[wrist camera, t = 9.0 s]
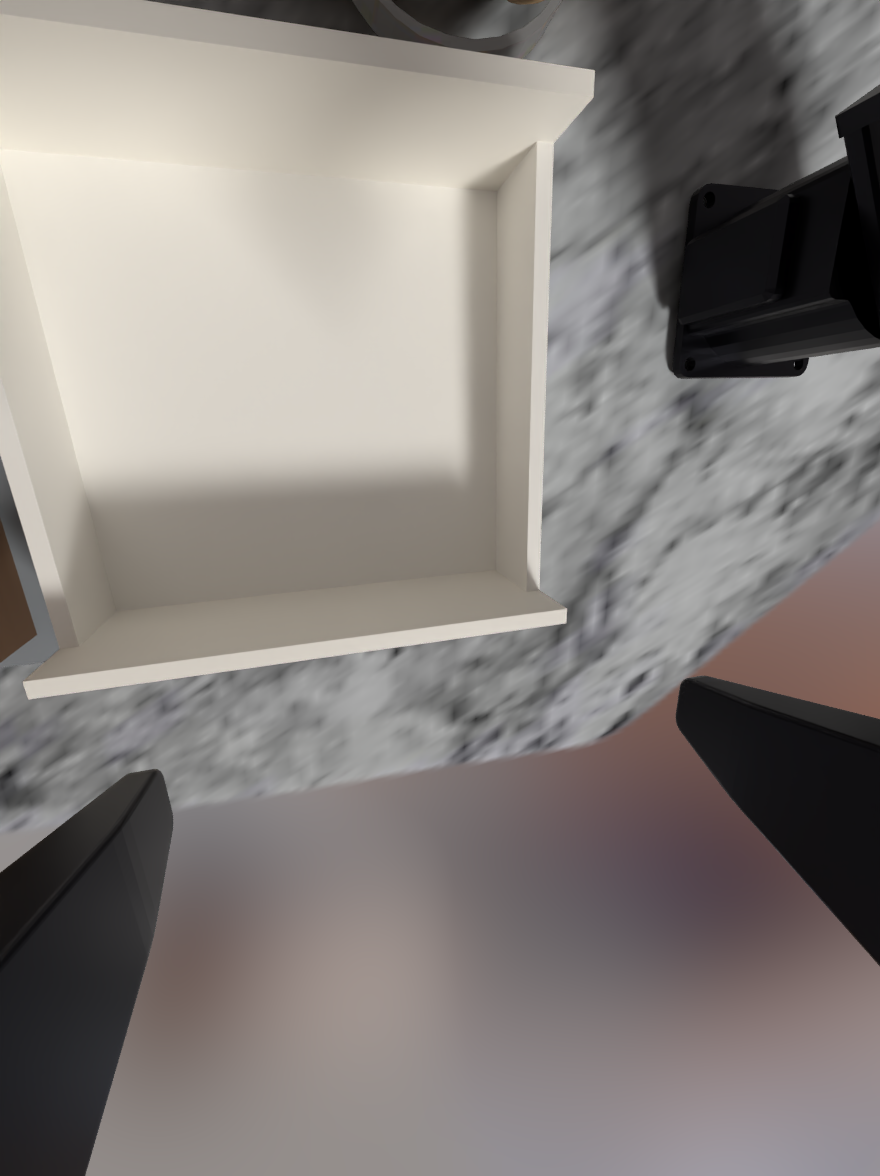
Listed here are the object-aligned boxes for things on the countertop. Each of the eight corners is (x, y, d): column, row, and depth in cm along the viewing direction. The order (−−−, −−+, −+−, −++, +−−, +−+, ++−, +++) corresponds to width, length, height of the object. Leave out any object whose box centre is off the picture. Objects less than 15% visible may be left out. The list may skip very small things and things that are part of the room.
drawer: (505, 181, 16) (594, 70, 11) (502, 577, 21) (566, 623, 16) (-21, 133, 13) (-230, -59, 8) (108, 621, 17) (28, 699, 12)
